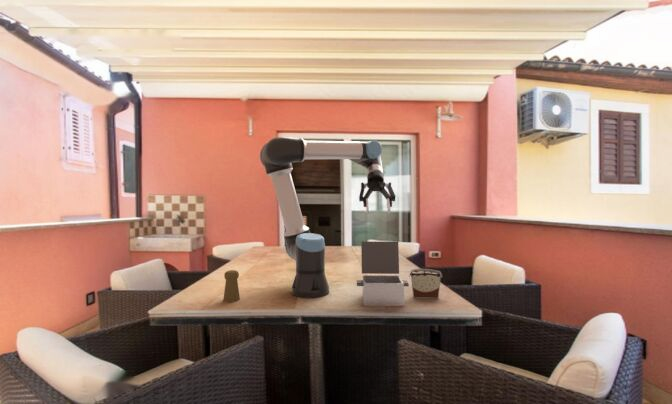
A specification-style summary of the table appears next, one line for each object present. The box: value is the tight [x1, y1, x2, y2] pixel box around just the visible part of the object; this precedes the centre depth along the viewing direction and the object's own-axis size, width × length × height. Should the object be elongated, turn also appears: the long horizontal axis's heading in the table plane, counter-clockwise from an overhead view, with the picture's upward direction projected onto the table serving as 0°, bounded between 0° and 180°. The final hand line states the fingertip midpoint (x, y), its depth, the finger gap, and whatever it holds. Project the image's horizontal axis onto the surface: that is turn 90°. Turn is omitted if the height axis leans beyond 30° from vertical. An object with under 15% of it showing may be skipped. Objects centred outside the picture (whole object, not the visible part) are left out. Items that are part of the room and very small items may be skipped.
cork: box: [222, 269, 241, 303], centre depth 121 cm, size 6×6×11 cm
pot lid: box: [360, 241, 400, 275], centre depth 126 cm, size 15×12×1 cm
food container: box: [408, 268, 443, 299], centre depth 125 cm, size 12×6×10 cm, turn 84°
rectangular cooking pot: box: [356, 274, 410, 307], centre depth 119 cm, size 19×12×8 cm, turn 88°
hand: (378, 211), depth 133 cm, fingers open, 8 cm apart
